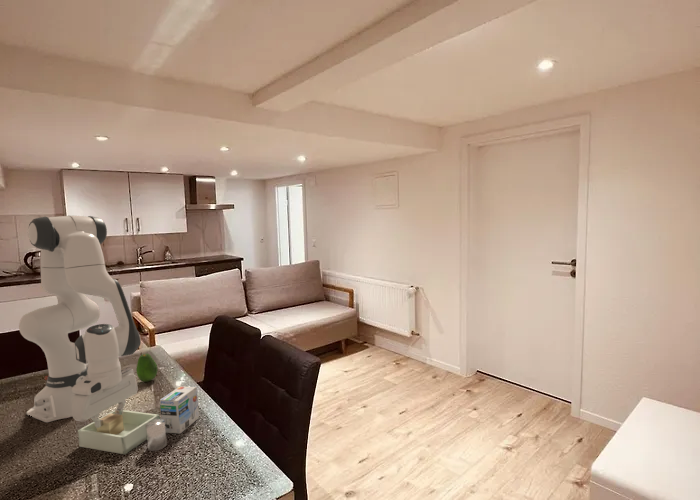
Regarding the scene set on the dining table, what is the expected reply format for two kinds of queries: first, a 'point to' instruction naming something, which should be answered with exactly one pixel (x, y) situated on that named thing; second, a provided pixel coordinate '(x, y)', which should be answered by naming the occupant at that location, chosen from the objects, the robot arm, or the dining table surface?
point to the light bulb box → (179, 409)
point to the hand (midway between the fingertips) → (109, 420)
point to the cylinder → (156, 434)
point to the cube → (112, 424)
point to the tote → (123, 440)
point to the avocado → (146, 368)
